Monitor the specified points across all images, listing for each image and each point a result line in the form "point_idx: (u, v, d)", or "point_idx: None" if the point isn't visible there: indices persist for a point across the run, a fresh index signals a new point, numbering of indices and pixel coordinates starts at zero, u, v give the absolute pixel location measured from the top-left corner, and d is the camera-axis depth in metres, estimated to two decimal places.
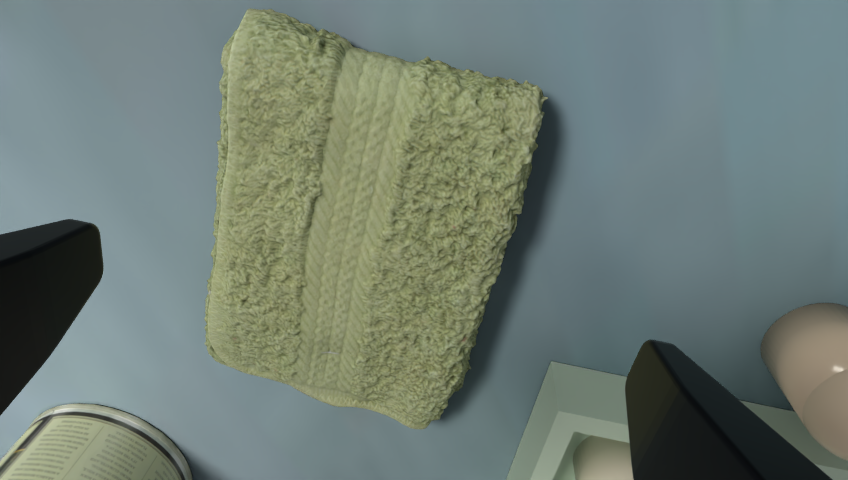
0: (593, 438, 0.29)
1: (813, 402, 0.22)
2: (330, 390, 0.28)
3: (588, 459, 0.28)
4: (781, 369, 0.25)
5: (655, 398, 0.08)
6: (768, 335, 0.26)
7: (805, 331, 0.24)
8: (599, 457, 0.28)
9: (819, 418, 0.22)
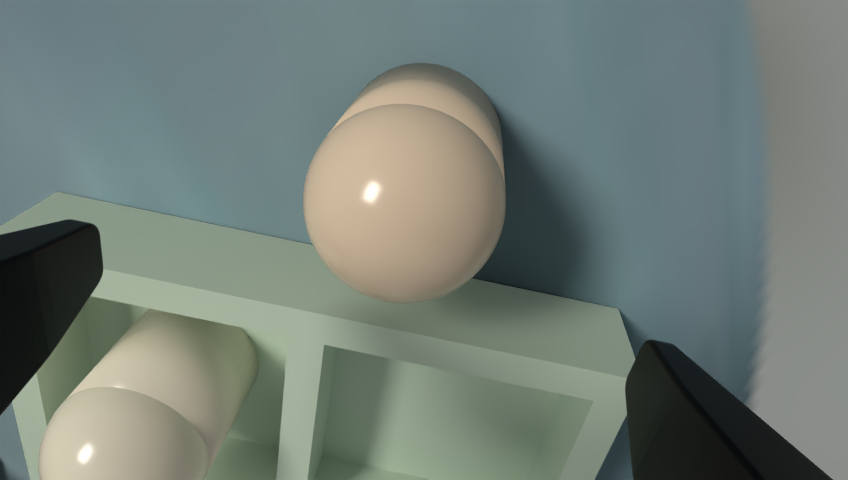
0: (141, 316, 0.19)
1: (304, 190, 0.12)
2: None
3: None
4: None
5: (655, 398, 0.08)
6: None
7: (358, 97, 0.14)
8: (121, 338, 0.18)
9: (304, 214, 0.12)
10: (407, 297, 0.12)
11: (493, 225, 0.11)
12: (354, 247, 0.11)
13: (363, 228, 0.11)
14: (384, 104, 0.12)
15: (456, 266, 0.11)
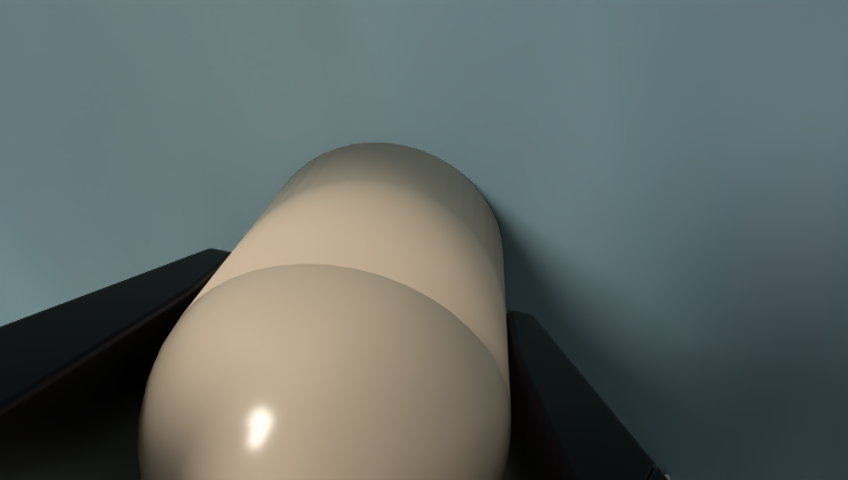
0: None
1: None
2: None
3: None
4: None
5: None
6: None
7: (270, 205, 0.09)
8: None
9: None
10: None
11: None
12: None
13: None
14: (284, 263, 0.06)
15: None
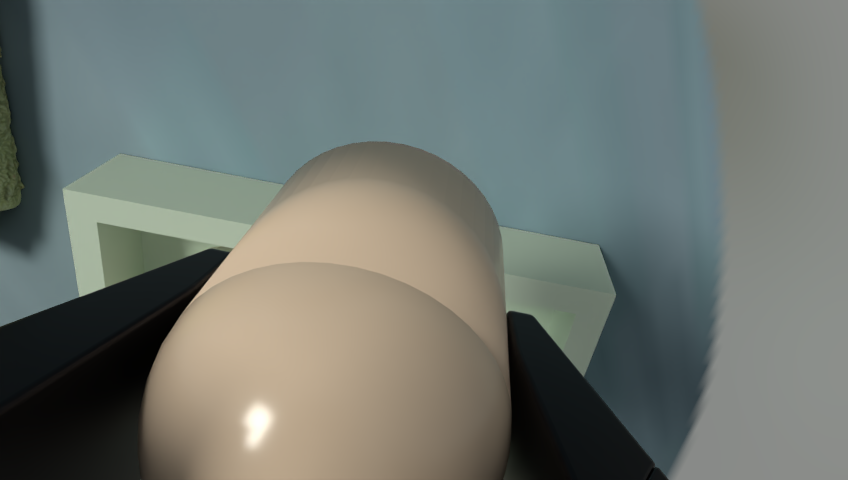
0: None
1: None
2: None
3: None
4: None
5: None
6: None
7: (270, 204, 0.09)
8: None
9: None
10: None
11: None
12: None
13: None
14: (284, 261, 0.06)
15: None
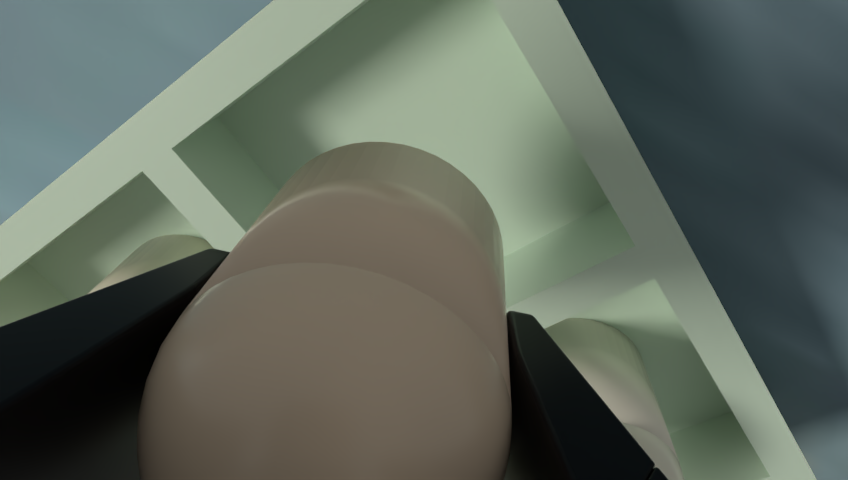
0: None
1: None
2: None
3: None
4: None
5: None
6: None
7: (270, 204, 0.09)
8: None
9: None
10: None
11: None
12: None
13: None
14: (284, 261, 0.06)
15: None
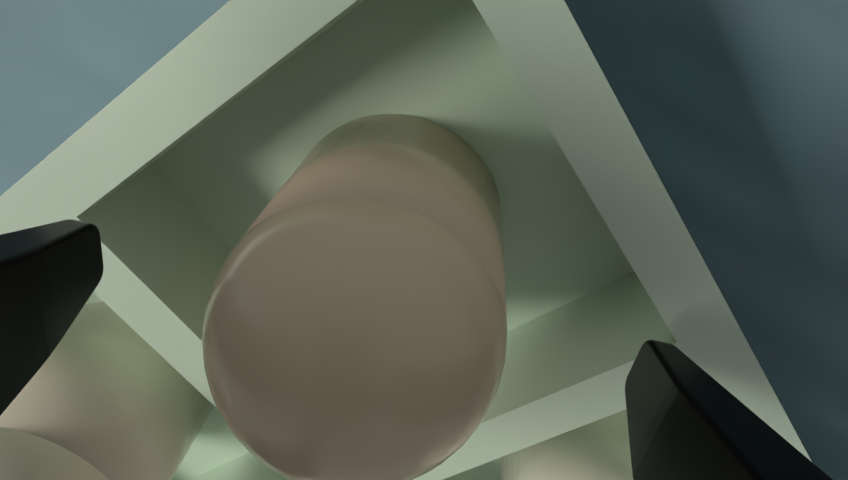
0: None
1: None
2: None
3: None
4: None
5: (655, 398, 0.08)
6: None
7: (300, 164, 0.10)
8: None
9: None
10: None
11: (488, 386, 0.07)
12: (267, 436, 0.07)
13: (278, 412, 0.07)
14: (322, 198, 0.08)
15: (430, 455, 0.07)
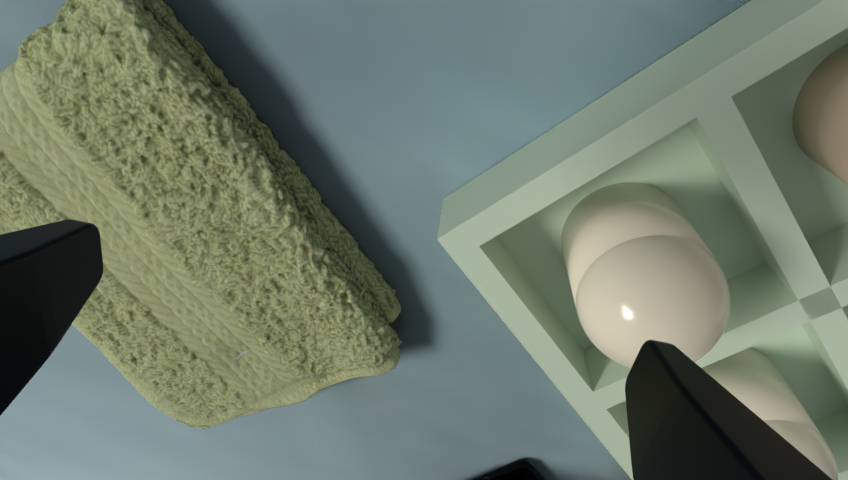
0: (562, 236, 0.21)
1: None
2: (284, 389, 0.25)
3: (565, 262, 0.20)
4: (825, 124, 0.17)
5: (655, 398, 0.08)
6: (803, 93, 0.18)
7: None
8: (567, 250, 0.20)
9: None
10: None
11: None
12: None
13: None
14: None
15: None
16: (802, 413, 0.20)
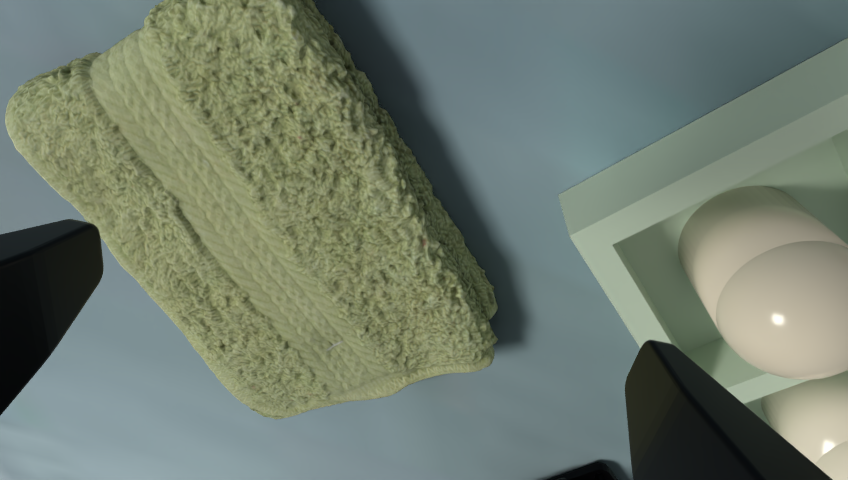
0: (682, 237, 0.21)
1: None
2: (372, 382, 0.24)
3: (688, 264, 0.20)
4: None
5: (655, 398, 0.08)
6: None
7: None
8: (694, 252, 0.20)
9: None
10: None
11: None
12: None
13: None
14: None
15: None
16: None
